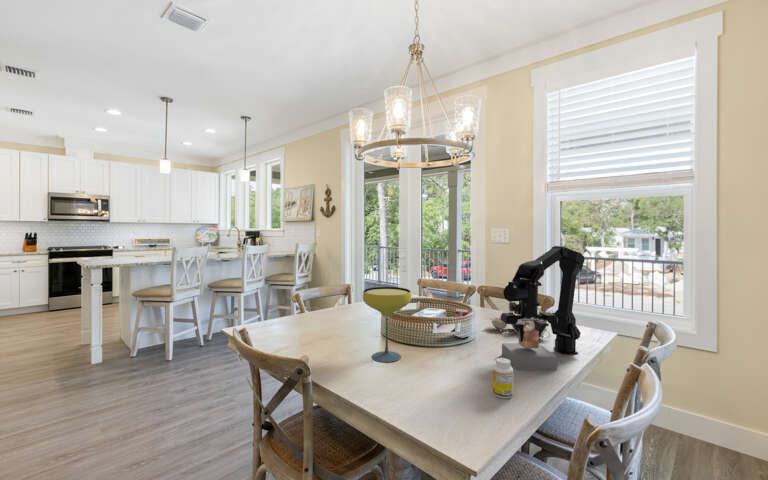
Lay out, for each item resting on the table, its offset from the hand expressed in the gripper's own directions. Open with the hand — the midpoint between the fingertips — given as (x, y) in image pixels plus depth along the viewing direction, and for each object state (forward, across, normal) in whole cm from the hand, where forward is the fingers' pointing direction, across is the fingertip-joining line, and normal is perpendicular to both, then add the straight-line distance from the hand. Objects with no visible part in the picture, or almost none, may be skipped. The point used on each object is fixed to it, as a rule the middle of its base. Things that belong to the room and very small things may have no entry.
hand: (528, 341), depth 126 cm
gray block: (+8, 0, 0) cm, 8 cm away
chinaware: (+8, -13, -36) cm, 39 cm away
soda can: (+8, +16, -30) cm, 35 cm away
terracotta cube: (+2, 0, 0) cm, 2 cm away
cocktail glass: (+8, +51, -7) cm, 52 cm away
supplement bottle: (+8, +19, +24) cm, 32 cm away
